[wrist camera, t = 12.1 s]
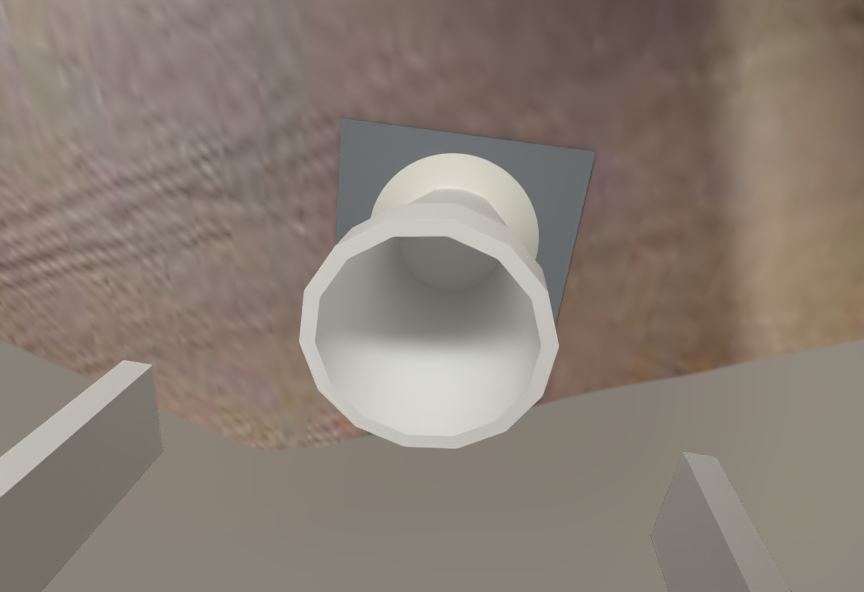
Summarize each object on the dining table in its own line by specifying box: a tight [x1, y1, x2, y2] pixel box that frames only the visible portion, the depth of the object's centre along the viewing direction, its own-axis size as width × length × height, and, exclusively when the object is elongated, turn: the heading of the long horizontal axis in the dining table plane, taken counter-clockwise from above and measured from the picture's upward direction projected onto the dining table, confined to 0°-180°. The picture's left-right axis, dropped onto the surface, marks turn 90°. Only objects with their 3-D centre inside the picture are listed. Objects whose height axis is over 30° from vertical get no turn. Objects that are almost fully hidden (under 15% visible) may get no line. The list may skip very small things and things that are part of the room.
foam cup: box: [299, 188, 559, 449], centre depth 25 cm, size 10×9×13 cm
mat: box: [335, 118, 596, 326], centre depth 31 cm, size 12×14×1 cm
